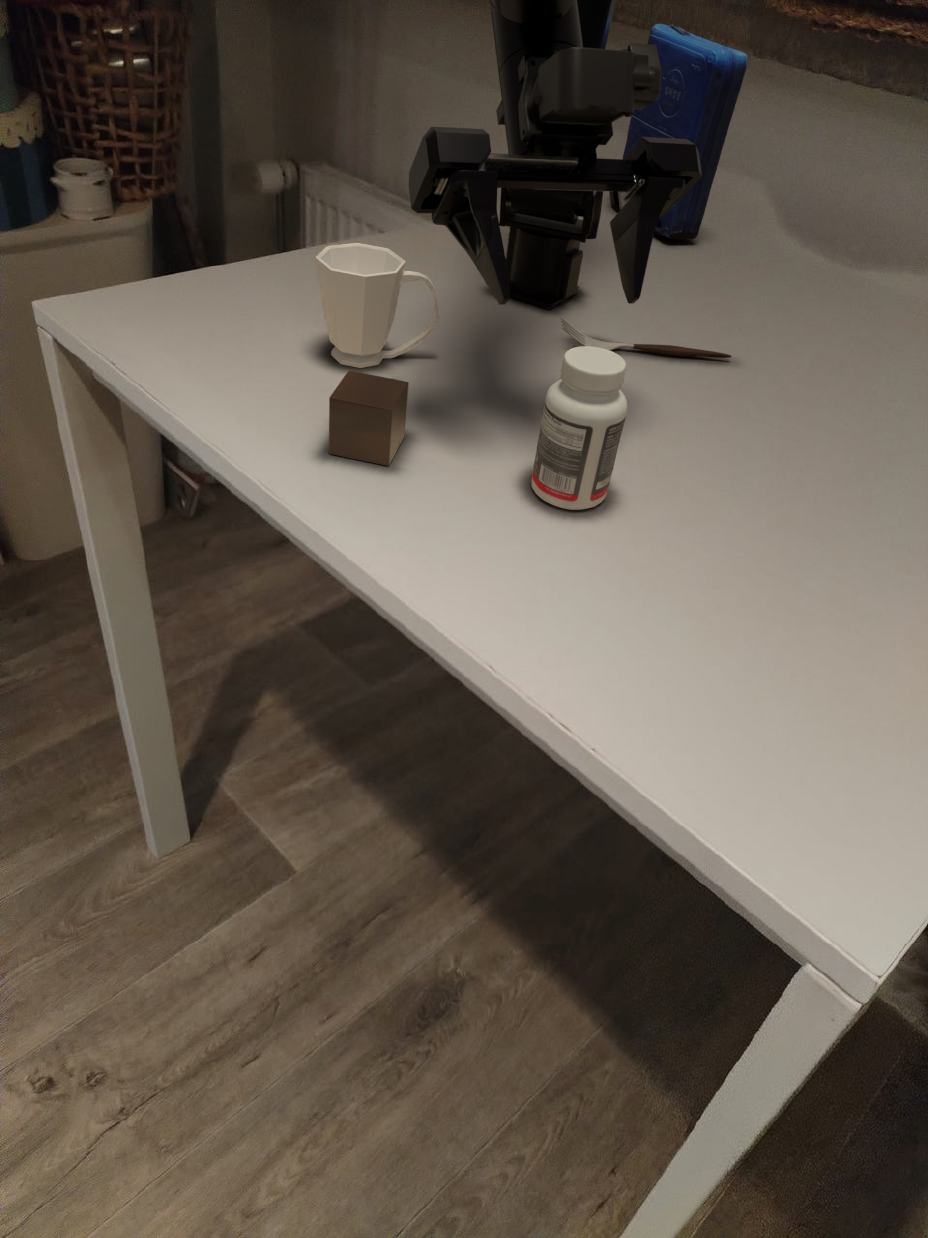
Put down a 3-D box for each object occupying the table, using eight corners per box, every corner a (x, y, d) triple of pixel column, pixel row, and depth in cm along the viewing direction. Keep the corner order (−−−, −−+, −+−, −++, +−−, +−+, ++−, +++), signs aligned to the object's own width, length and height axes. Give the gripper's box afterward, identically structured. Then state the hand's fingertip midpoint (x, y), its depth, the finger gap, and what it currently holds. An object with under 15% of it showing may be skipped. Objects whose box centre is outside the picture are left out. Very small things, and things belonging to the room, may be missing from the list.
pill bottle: (585, 466, 66) (614, 338, 60) (619, 507, 62) (653, 376, 56) (517, 473, 64) (540, 342, 58) (548, 516, 61) (575, 382, 54)
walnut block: (328, 454, 63) (328, 397, 61) (347, 424, 67) (348, 369, 64) (388, 466, 63) (392, 409, 60) (404, 436, 66) (408, 381, 64)
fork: (733, 368, 82) (739, 347, 80) (558, 349, 81) (562, 327, 79) (727, 355, 84) (733, 334, 82) (556, 336, 83) (560, 315, 81)
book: (603, 205, 114) (641, 18, 101) (639, 205, 116) (680, 21, 103) (665, 247, 105) (715, 46, 92) (702, 245, 107) (756, 48, 94)
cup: (313, 336, 77) (312, 239, 72) (428, 339, 79) (436, 245, 74) (317, 374, 72) (318, 273, 67) (441, 376, 74) (450, 278, 69)
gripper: (435, -36, 50) (468, 242, 49) (732, -6, 55) (766, 245, 54) (395, 92, 60) (422, 321, 60) (646, 107, 65) (674, 318, 65)
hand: (570, 301), depth 59 cm, fingers open, 9 cm apart
